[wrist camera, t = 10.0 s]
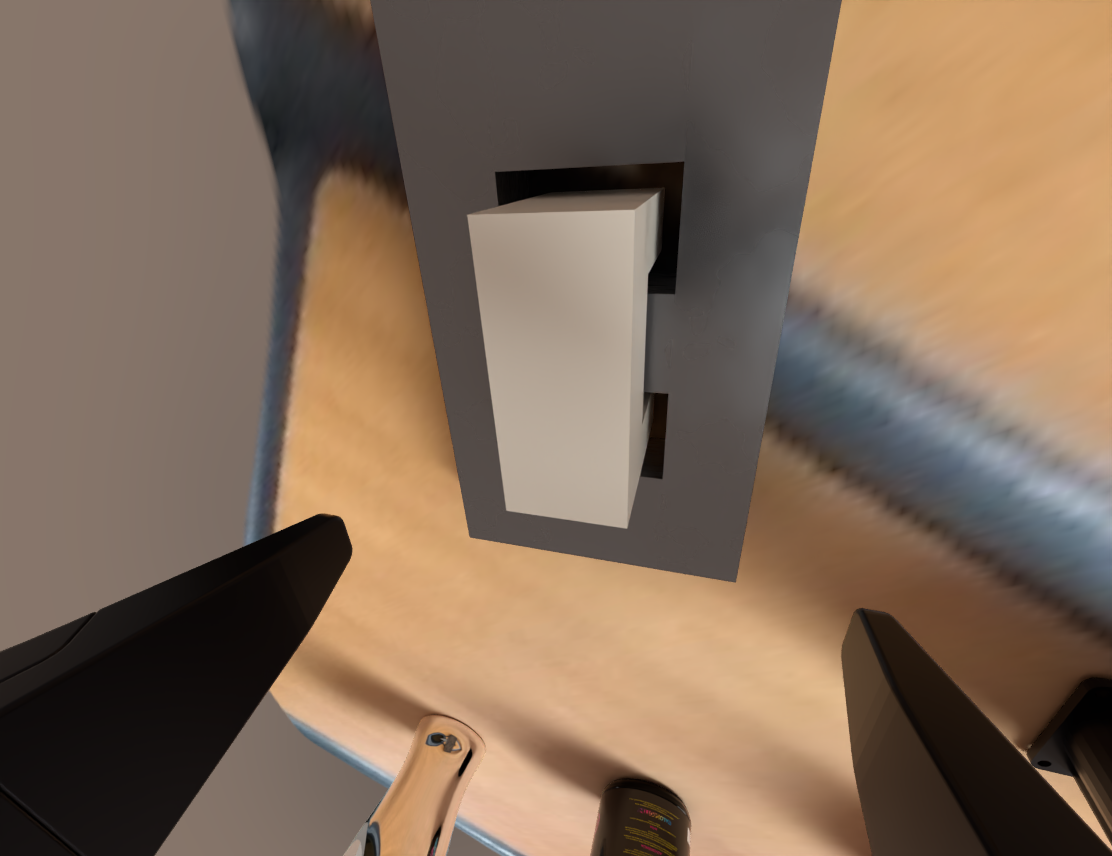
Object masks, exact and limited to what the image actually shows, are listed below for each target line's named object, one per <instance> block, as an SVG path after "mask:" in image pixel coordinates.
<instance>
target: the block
mask: <svg viewBox="0 0 1112 856" xmlns="http://www.w3.org/2000/svg"><path fill="white" fill-rule="evenodd" d="M664 193H665V188H640V189H616V190H592V191H568V192H550V193H547V194H543V195H539V196H535V197H532V198H528V199H524V200H520V201H517V202H513V203H509V204H506V205H502V206H498V207H494V208H491V209H487V210H483V211H479V212H476V213H472V214H468V215H467V217H468V225H469V232H470V240H471V247H472V255H473V262H474V270H475V277H476V285H477V292H478V300H479V308H480V315H481V323H482V330H483V338H484V345H485V353H486V360H487V368H488V375H489V383H490V391H491V398H492V406H493V413H494V421H495V428H496V436H497V443H498V451H499V458H500V466H501V474H502V481H503V489H504V496H505V504H506V511H512V512H519V513H525V514H532V515H539V516H545V517H552V518H559V519H566V520H572V521H579V522H586V523H592V524H599V525H606V526H613V527H619V528H626V529H627V527H628V523H629V519H630V515H631V511H632V507H633V502H634V498H635V494H636V490H637V486H638V481H639V477H640V473H641V469H642V465H643V461H644V456H645V452H646V448H647V444H648V440H649V436H650V431H651V427H652V423H653V409H654V393H652V392H643V391H644V365H645V340H646V314H647V288H648V273H649V272H650V270H651V268H652V266H653V264H654V263H655V261H656V259H657V257H658V255H659V254H660V252H661V250H662V232H663V213H664Z"/></svg>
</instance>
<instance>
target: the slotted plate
mask: <svg viewBox="0 0 1112 856" xmlns="http://www.w3.org/2000/svg"><path fill="white" fill-rule="evenodd" d="M370 1H371V6H372V12H373V17H374V23H375V28H376V33H377V39H378V44H379V50H380V55H381V60H382V66H383V71H384V77H385V82H386V87H387V93H388V98H389V104H390V109H391V114H392V120H393V125H394V131H395V136H396V141H397V147H398V152H399V158H400V163H401V168H402V174H403V179H404V185H405V190H406V195H407V201H408V206H409V212H410V217H411V222H412V228H413V233H414V239H415V244H416V249H417V255H418V260H419V266H420V271H421V276H422V282H423V287H424V293H425V298H426V303H427V309H428V314H429V320H430V325H431V330H432V336H433V341H434V347H435V352H436V358H437V363H438V368H439V374H440V379H441V385H442V390H443V395H444V401H445V406H446V412H447V417H448V422H449V428H450V433H451V439H452V444H453V449H454V455H455V460H456V466H457V471H458V476H459V482H460V487H461V493H462V498H463V503H464V509H465V514H466V520H467V525H468V530H469V536H470V537H471V538H477V539H483V540H489V541H494V542H500V543H506V544H512V545H518V546H524V547H530V548H536V549H541V550H547V551H553V552H559V553H565V554H571V555H577V556H583V557H589V558H594V559H600V560H606V561H612V562H618V563H624V564H630V565H636V566H641V567H647V568H653V569H659V570H665V571H671V572H677V573H683V574H689V575H694V576H700V577H706V578H712V579H718V580H724V581H730V582H736V578H737V573H738V567H739V562H740V556H741V551H742V546H743V540H744V535H745V529H746V524H747V518H748V513H749V507H750V502H751V496H752V491H753V485H754V480H755V474H756V469H757V463H758V458H759V452H760V447H761V441H762V436H763V430H764V425H765V419H766V414H767V408H768V403H769V397H770V392H771V386H772V381H773V375H774V370H775V364H776V359H777V353H778V348H779V342H780V337H781V331H782V326H783V320H784V315H785V309H786V304H787V298H788V293H789V287H790V282H791V276H792V271H793V265H794V260H795V254H796V249H797V243H798V238H799V232H800V227H801V221H802V216H803V210H804V205H805V199H806V194H807V188H808V183H809V177H810V172H811V166H812V161H813V155H814V150H815V144H816V139H817V133H818V128H819V122H820V117H821V111H822V106H823V100H824V95H825V89H826V84H827V78H828V73H829V67H830V62H831V56H832V51H833V45H834V40H835V34H836V29H837V23H838V18H839V12H840V7H841V1H842V0H370ZM668 162H684V174H683V189H682V204H681V219H680V233H679V248H678V263H677V273H648V288H647V314H646V340H645V365H644V391H643V392H652V393H665V394H669V395H668V410H667V424H666V439H658V438H649V440H648V444H647V448H646V452H645V456H644V461H643V465H642V469H641V473H640V477H639V481H638V486H637V490H636V494H635V498H634V502H633V507H632V511H631V515H630V519H629V523H628V527H627V529H626V528H619V527H613V526H606V525H599V524H592V523H586V522H579V521H572V520H566V519H559V518H552V517H545V516H539V515H532V514H525V513H519V512H512V511H506V504H505V496H504V489H503V481H502V474H501V466H500V458H499V451H498V443H497V436H496V428H495V421H494V413H493V406H492V398H491V391H490V383H489V375H488V368H487V360H486V353H485V345H484V338H483V330H482V323H481V315H480V308H479V300H478V292H477V285H476V277H475V270H474V262H473V255H472V247H471V240H470V232H469V225H468V217H467V215H468V214H472V213H476V212H479V211H483V210H487V209H491V208H494V207H498V206H502V205H506V204H509V203H513V202H517V201H520V200H524V199H528V198H529V184H528V171H527V170H539V169H557V168H576V167H594V166H612V165H631V164H649V163H668Z"/></svg>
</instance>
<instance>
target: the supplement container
mask: <svg viewBox="0 0 1112 856" xmlns="http://www.w3.org/2000/svg"><path fill="white" fill-rule="evenodd" d="M690 839H691V820H690V816H689V813H688V811H687V809H686V807H685V806H684V804H683V803H682V801H681V800H680V799H679V798H678V797H677V796H675V795H674V794H673V793H671V792H670V791H668V790H666V789H664V788H663V787H661V786H658V785H656V784H653V783H651V782H647V781H643V780H639V779H618V780H615V781H613V782H611V783H610V784H609V785H607V786H606V787H605V789H604V791H603V792H602V794H601V799H600V805H599V810H598V816H597V821H596V827H595V832H594V838H593V843H592V849H591V854H590V856H690Z"/></svg>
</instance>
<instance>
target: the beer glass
mask: <svg viewBox="0 0 1112 856" xmlns="http://www.w3.org/2000/svg"><path fill="white" fill-rule="evenodd" d="M485 753H486V748H485V745H484V743H483V741H482V739H481V738H480V737H479V736H478V735H477V734H476V733H475V732H474V731H473V730H472V729H470V728H469V727H468V726H466V725H464V724H463V723H461V722H459V721H457V720H455V719H452V718H449V717H446V716H441V715H428V716H425V717H423V718H422V719H421V720H420V722H419V724H418V726H417V729H416V732H415V735H414V738H413V741H412V744H411V747H410V750H409V752H408V755H407V757H406V760H405V761H404V764H403V766H402V768H401V770H400V771H399V773H398V775H397V777H396V778H395V780H394V782H393V783H392V785H391V786H390V788H389V789H388V790H387V792H386V793H385V795H384V796H383V798H382V799H381V801H380V802H379V804H378V805H377V806H376V808H375V809H374V811H373V812H372V814H371V815H370V816H369V818H368V819H367V820H366V822H365V823H364V825H363V826H362V828H361V829H360V831H359V832H358V833H357V835H356V837H355V838H354V840H353V841H352V843H351V844H350V846H349V848H348V849H347V850H346V852H345V854H344V855H343V856H447V853H448V849H449V845H450V841H451V836H452V832H453V828H454V825H455V821H456V817H457V813H458V810H459V807H460V804H461V801H462V798H463V796H464V793H465V791H466V789H467V787H468V785H469V783H470V781H471V779H472V777H473V776H474V774H475V772H476V770H477V769H478V767H479V765H480V764H481V762H482V760H483V758H484V756H485Z"/></svg>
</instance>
